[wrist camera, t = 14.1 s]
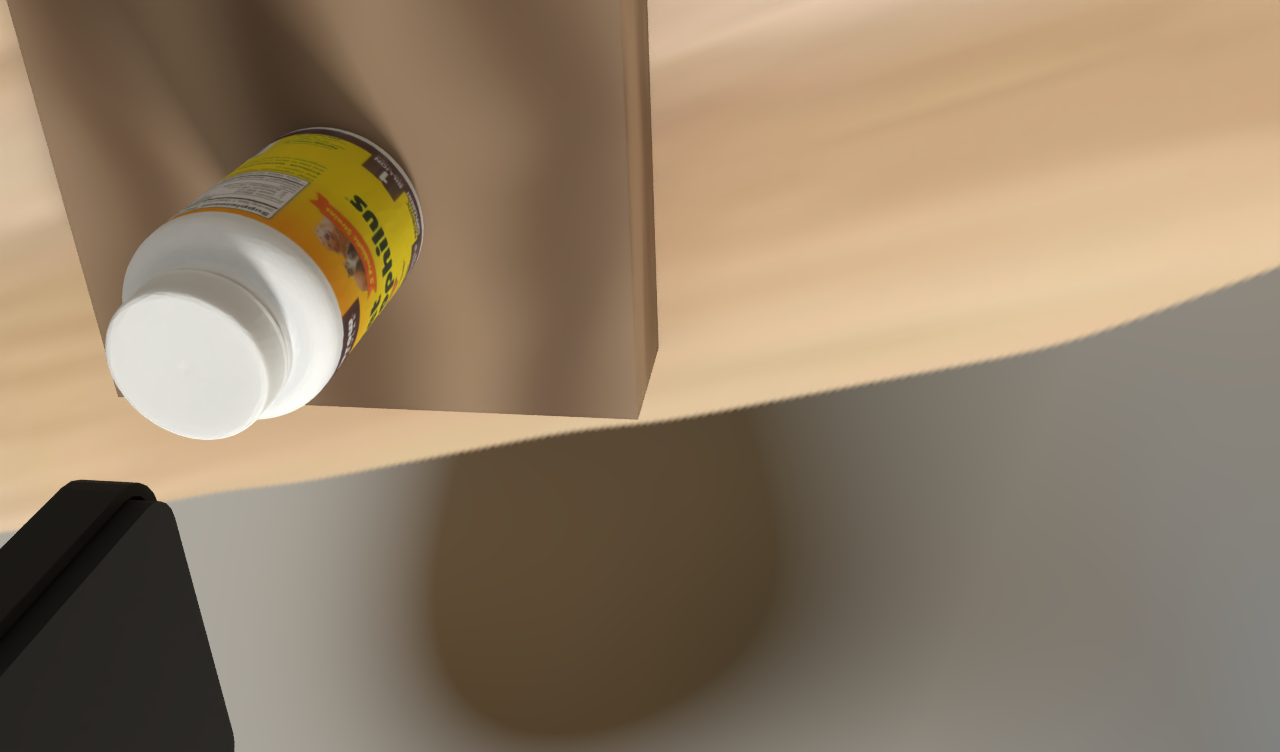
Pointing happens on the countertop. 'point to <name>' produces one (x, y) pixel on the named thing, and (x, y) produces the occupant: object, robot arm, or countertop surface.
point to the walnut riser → (420, 144)
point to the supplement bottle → (263, 284)
